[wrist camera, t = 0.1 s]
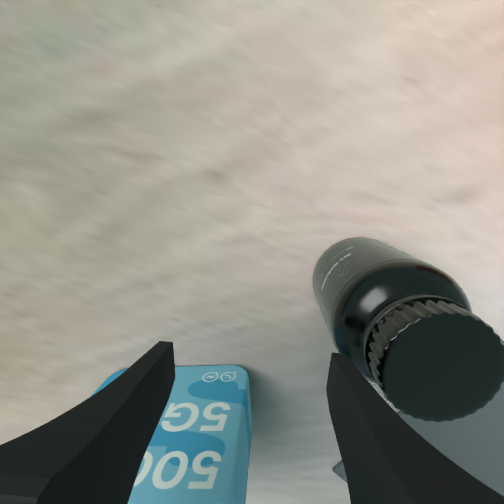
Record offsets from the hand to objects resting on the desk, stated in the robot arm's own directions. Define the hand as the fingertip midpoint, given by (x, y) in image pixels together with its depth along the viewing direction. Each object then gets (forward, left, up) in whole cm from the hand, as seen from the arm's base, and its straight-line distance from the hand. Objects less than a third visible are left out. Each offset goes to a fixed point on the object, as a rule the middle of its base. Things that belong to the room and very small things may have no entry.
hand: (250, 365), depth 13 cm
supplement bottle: (+6, -5, -11) cm, 13 cm away
